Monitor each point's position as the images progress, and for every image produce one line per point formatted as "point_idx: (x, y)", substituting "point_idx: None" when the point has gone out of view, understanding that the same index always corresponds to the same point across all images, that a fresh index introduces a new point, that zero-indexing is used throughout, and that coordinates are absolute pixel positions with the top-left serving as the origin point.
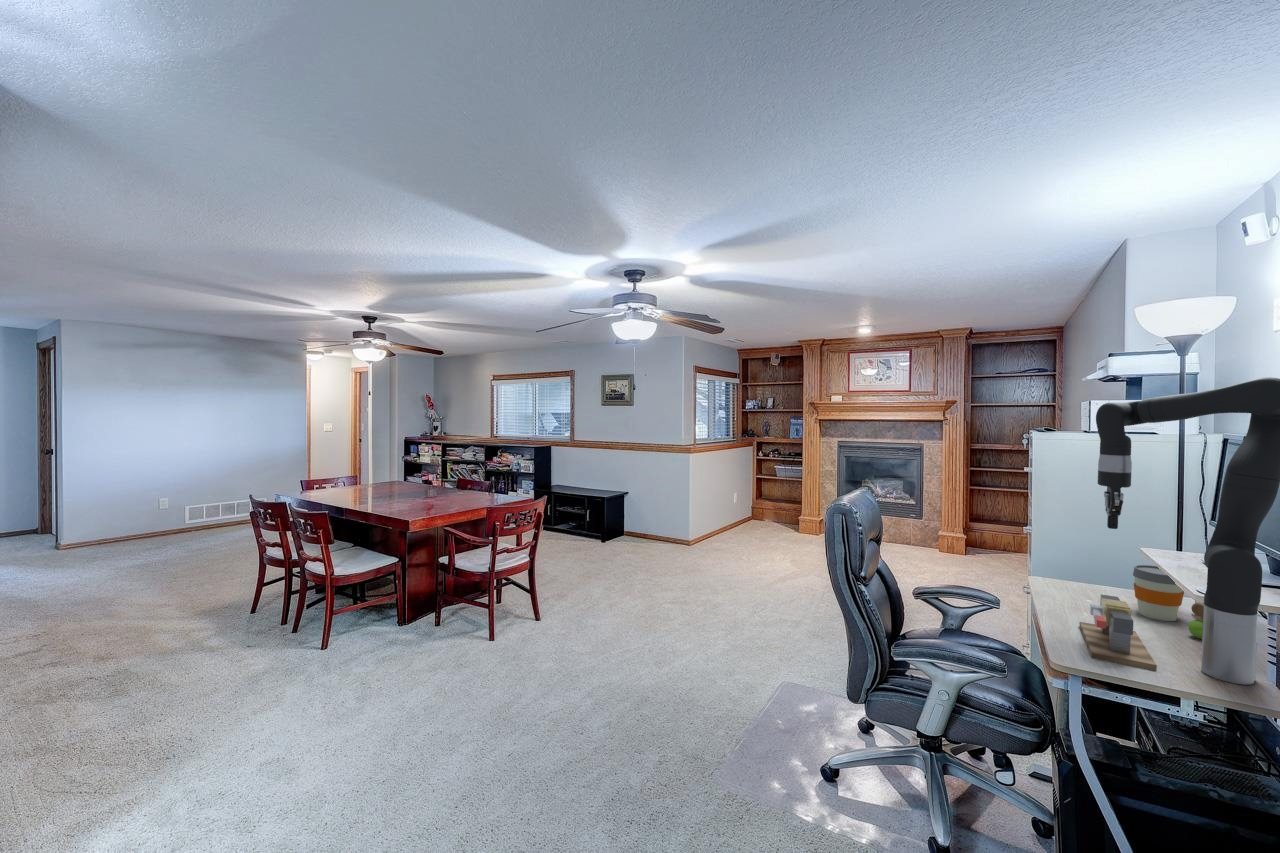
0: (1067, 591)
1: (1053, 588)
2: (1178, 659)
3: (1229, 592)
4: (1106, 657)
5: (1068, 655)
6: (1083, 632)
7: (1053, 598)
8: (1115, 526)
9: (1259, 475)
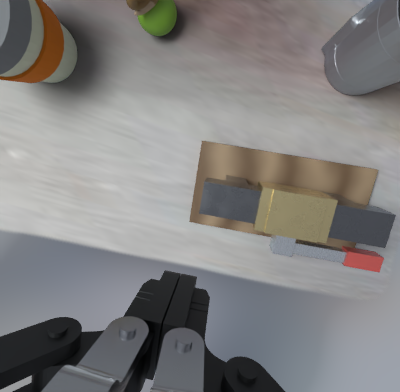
0: None
1: None
2: (300, 110)
3: None
4: None
5: (348, 278)
6: (245, 231)
7: (36, 214)
8: (206, 297)
9: None
